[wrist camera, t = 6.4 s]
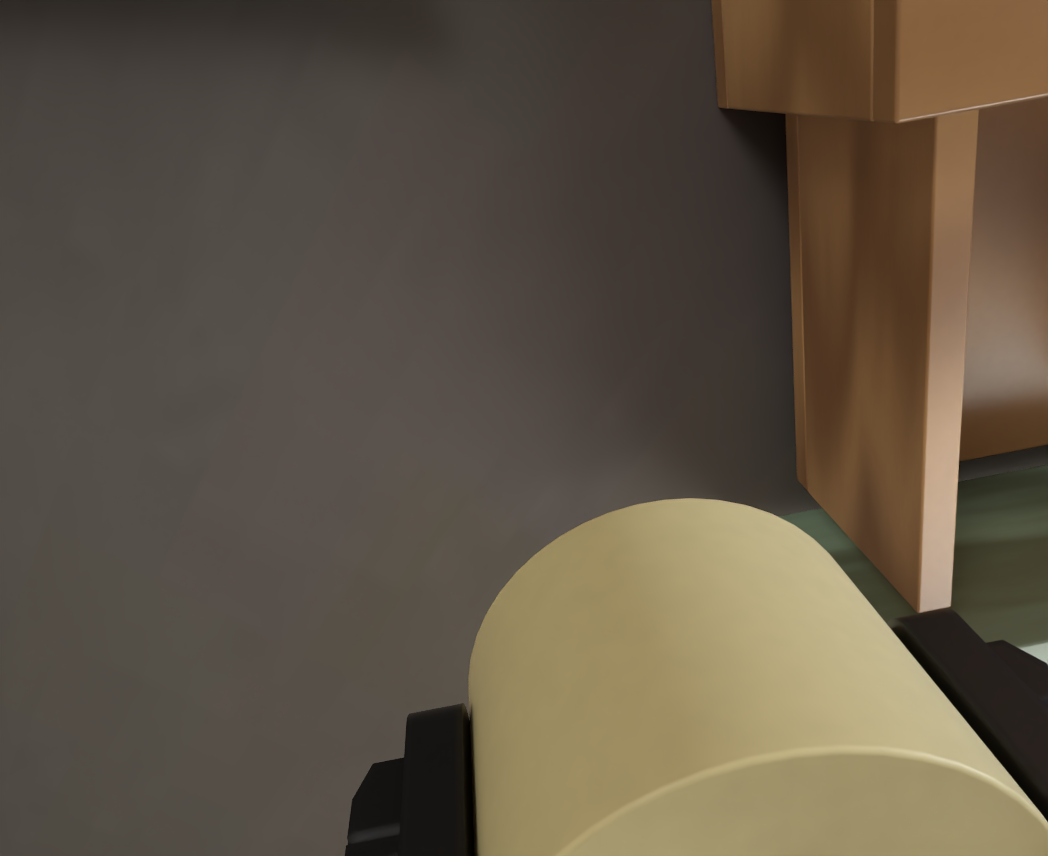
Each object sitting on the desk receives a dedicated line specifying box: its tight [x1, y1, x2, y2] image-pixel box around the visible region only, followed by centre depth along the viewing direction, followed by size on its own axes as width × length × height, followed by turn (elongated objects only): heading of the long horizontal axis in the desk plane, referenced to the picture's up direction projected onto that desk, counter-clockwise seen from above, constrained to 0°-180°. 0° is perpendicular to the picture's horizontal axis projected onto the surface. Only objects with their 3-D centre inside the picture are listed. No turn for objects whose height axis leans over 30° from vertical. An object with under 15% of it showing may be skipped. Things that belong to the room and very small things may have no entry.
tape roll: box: [468, 498, 1048, 856], centre depth 10 cm, size 6×6×4 cm
